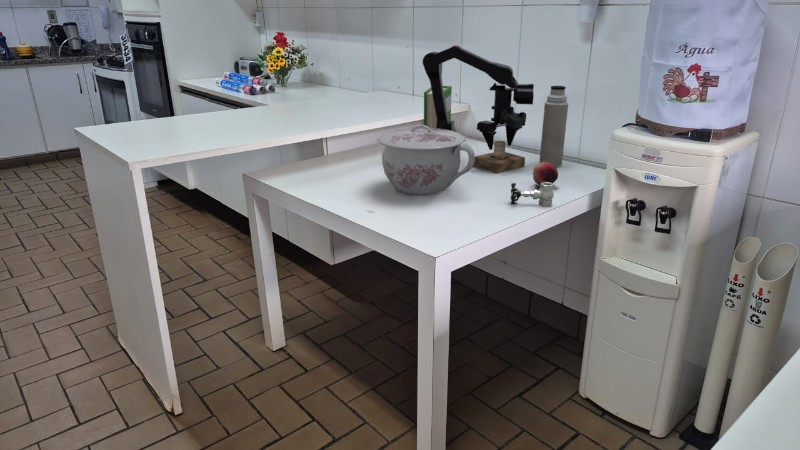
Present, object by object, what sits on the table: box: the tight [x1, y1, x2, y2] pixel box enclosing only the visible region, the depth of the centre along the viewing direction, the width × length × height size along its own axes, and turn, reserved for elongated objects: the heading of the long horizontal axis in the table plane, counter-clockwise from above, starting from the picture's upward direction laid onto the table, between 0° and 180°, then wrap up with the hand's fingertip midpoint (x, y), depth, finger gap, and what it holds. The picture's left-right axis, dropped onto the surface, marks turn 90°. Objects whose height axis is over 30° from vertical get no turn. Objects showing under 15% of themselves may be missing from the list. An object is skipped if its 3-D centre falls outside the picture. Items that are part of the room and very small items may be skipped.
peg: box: [493, 140, 507, 160], centre depth 197 cm, size 4×4×9 cm
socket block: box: [472, 151, 526, 175], centre depth 198 cm, size 14×12×4 cm
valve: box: [510, 182, 555, 208], centre depth 160 cm, size 7×7×12 cm
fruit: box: [532, 162, 559, 187], centre depth 175 cm, size 8×8×8 cm
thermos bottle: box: [538, 85, 569, 168], centre depth 195 cm, size 8×8×28 cm
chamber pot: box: [376, 124, 476, 196], centre depth 172 cm, size 28×28×21 cm
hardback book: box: [423, 85, 453, 128], centre depth 217 cm, size 18×7×24 cm, turn 165°
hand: (500, 147), depth 196 cm, fingers open, 9 cm apart
